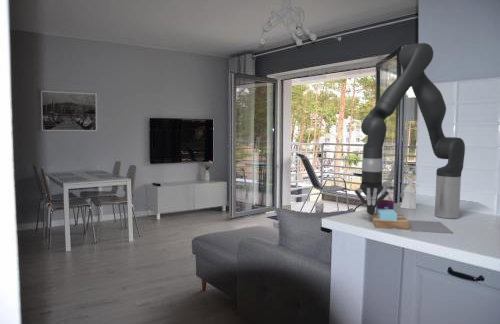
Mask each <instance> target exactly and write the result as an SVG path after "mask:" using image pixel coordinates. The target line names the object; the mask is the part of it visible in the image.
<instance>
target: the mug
mask: <svg viewBox="0 0 500 324" xmlns="http://www.w3.org/2000/svg"><path fill="white" fill-rule="evenodd" d="M394 205H395V202H394V200H390V199H383V201H382V202H381V203H380V204H376V205H375V213H376V214H377V209H393V210H394V211H395V209H394V207H395V206H394Z"/></svg>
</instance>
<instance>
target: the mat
mask: <svg viewBox="0 0 500 324" xmlns="http://www.w3.org/2000/svg"><path fill="white" fill-rule="evenodd" d="M407 220H408V221H409V222H410V230H411V232H419V231H421V232H422V233H423V232H424V233H441V234H443V233H444V234H454V231H452V230H451V229H450V228H448V227H447V226H446V225H445V224H443V223H442V221H431V220H430V221H429V220H427V221H426V220H411V219H410V220H409V219H407ZM410 230H409V231H410Z"/></svg>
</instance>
